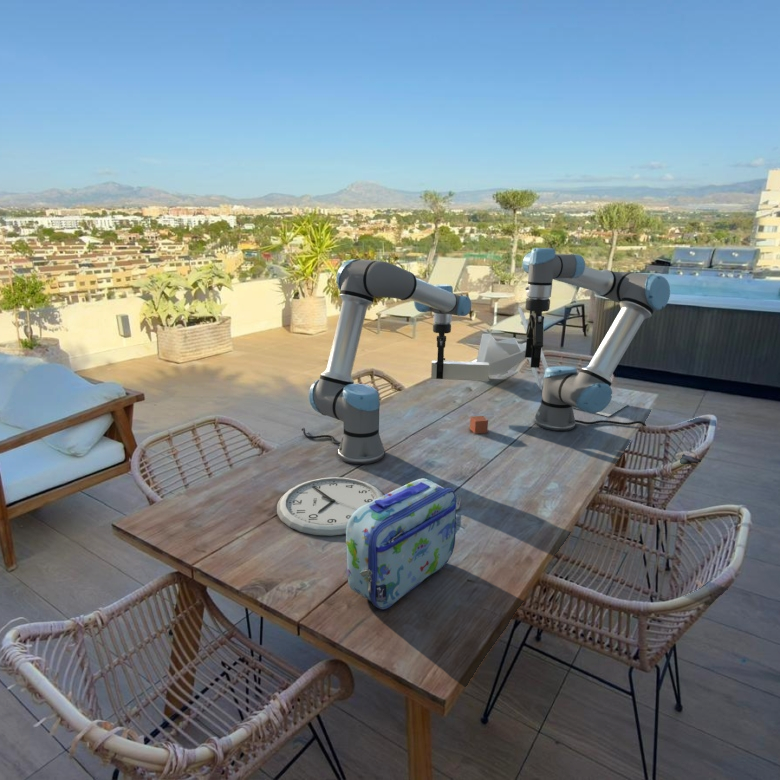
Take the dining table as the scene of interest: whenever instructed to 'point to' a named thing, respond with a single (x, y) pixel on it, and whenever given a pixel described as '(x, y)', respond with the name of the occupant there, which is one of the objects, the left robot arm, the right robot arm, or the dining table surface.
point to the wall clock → (324, 504)
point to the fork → (458, 504)
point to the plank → (462, 370)
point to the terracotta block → (478, 424)
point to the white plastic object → (506, 353)
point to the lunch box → (400, 540)
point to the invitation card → (611, 408)
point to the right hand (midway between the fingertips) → (531, 362)
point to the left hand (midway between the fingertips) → (439, 376)
